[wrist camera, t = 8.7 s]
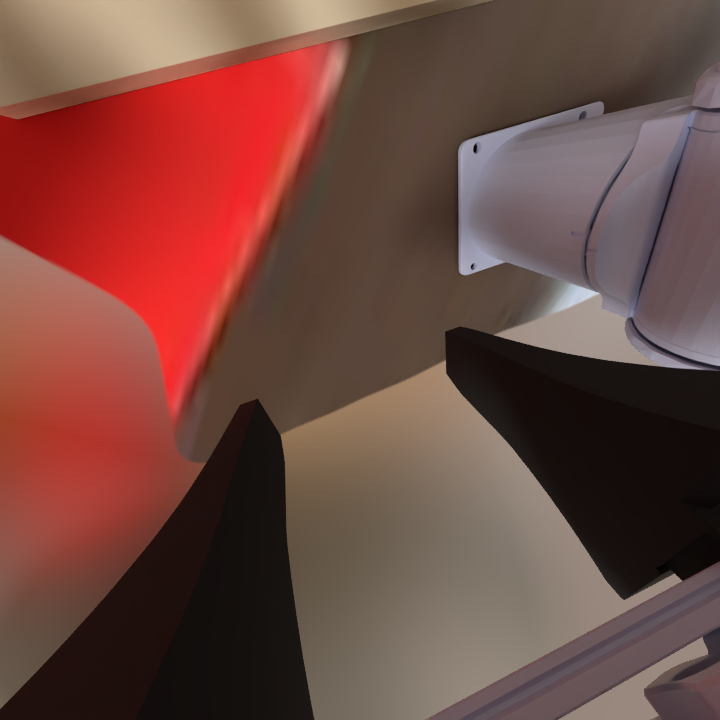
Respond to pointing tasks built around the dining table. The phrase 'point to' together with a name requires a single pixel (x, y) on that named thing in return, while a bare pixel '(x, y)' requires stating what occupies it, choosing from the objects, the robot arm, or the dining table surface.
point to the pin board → (165, 41)
